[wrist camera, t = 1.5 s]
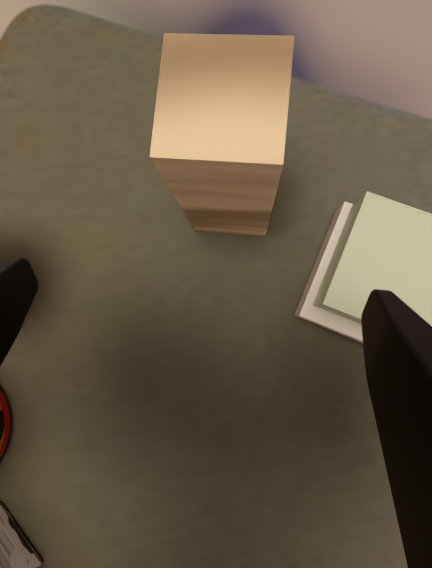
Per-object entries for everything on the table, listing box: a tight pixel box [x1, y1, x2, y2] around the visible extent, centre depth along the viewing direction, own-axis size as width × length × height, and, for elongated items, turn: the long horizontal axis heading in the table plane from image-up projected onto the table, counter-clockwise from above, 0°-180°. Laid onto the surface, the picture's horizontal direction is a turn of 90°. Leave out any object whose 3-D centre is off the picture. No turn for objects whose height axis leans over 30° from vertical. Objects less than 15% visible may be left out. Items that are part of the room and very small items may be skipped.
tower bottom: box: [294, 202, 363, 343], centre depth 20 cm, size 7×7×2 cm
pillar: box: [150, 33, 294, 236], centre depth 17 cm, size 4×4×10 cm
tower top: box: [313, 191, 432, 326], centre depth 18 cm, size 6×6×2 cm
